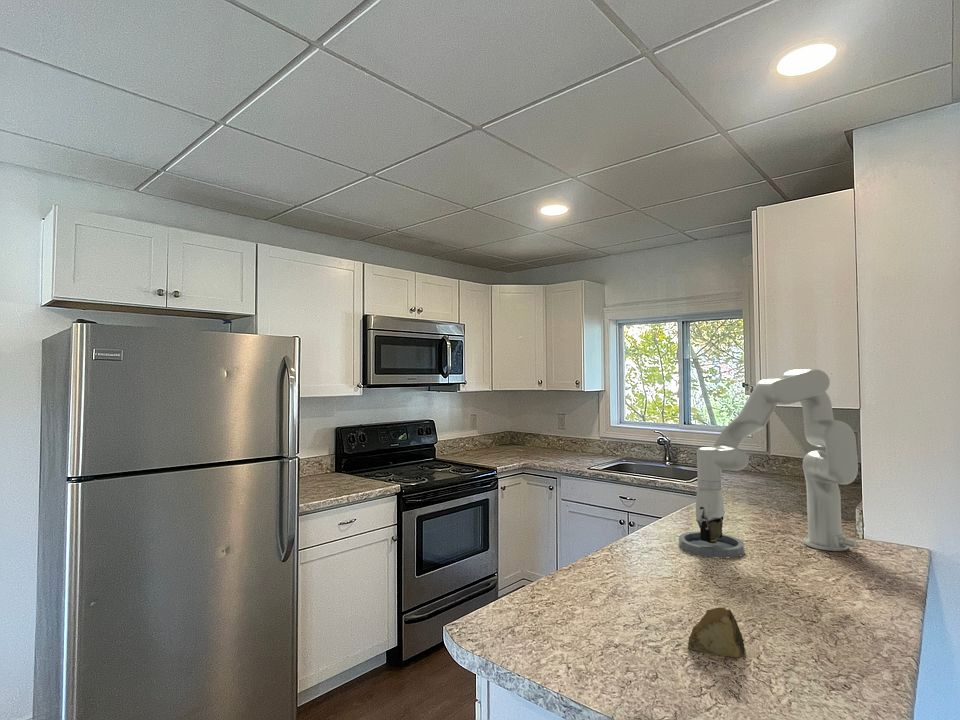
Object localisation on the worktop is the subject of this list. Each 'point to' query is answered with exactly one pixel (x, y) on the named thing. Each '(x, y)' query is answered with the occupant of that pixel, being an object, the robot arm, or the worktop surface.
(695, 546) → the round dish
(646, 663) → the worktop surface
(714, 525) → the cup
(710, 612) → the rock
